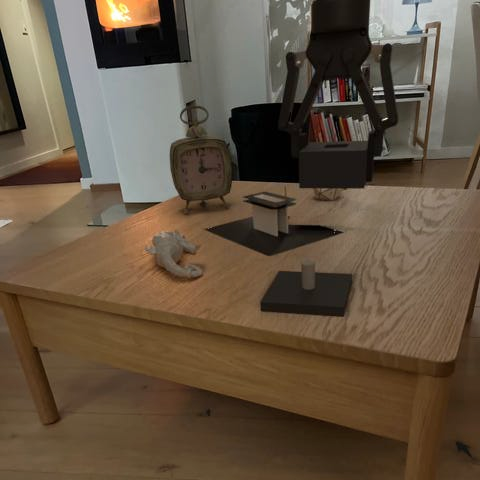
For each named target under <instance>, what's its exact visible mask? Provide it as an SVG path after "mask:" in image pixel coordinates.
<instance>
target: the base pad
mask: <svg viewBox="0 0 480 480" xmlns="http://www.w3.org/2000/svg"><path fill="white" fill-rule="evenodd" d="M300 267H301V271H296V270H295V271H293V270H292V271H291V270H279V271H278V272H277V273H276V275H275V276H274V278H273V279H272V282H271V283H270V285H269V287H268V288H267V290H266V292H265V293H264V294H263V297H262V298H261V300H260V302H259V303H260V312H271V313H285V314H286V313H287V314H299V315H300V314H301V315H315V316H331V317H332V316H333V317H345V313H346V309H347V305H348V302H349V297H350V293H351V289H352V285H353V273H342V272H317V271H316V262H315V260H311V259H307V260H302V261H301V263H300Z"/></svg>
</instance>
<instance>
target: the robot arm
mask: <svg viewBox="0 0 480 480" xmlns="http://www.w3.org/2000/svg"><path fill="white" fill-rule="evenodd" d="M370 16H371V0H313V1H311V2H310V4H309V38H308V44H307V46H306V48H305V49H304V50H299V51H289V52H287V53H286V55H285V64H286V71H287V72H286V78H285V82H284V83H285V84H284V89H283V94H282V100H281V105H280V110H279V111H280V112H279V117H278V122H277V128H278V129H277V130H279V131H283V132H286V133H288V134H289V135H290V149H291V150H290V151H291V153H290V155H291V157H292V159H298V161H297V162H298V165H297V166H298V167H297V168H298V171H297V172H298V177H299V151H301V150H302V149H303V148H304V147H306V146H307V145H308V132H303V128H304V125H305V123H306V121H307V120H308V117H309V115H310V112H311V110H312V108H313V106H314V103H315V102H316V99H317V97H318V94H319V93H320V90H321V88H322V86H323V85H324V83H325V81H326V82H327V81H334V80H336V79H338V80H350V79H351V81H352V83H353V85H354V86H355V88H356V91H357V94H358V96H359V98H360V100H361V103H362V105H363V107H364V110H365V111H366V113H367V116H368V118H369V120H370V124H371V125H372V128H373V130H369V132H368V135H367V141H368V156H367V175H366V183H372V181H373V178H374V166H375V157H381V156H382V153H383V151H384V135H385V131H386V130H387V129H390V128H393V127H396V126H397V125H398V122H399V114H398V113H399V112H398V107H397V99H396V92H395V86H394V85H395V84H394V79H393V72H392V65H391V62H392V59H393V58H392V57H393V51H394V46H393V45H392V44H391V43H389V42H387V43H384V44H383V43H382V44H380V43H372V41H371V38H370ZM370 54H372V55H373V56H374V62H376V63H378V64H379V70H380V78H381V84H382V90H383V98H384V104H385V109H386V116H387V117H386V118H383V117H382V115H381V112H380V110H379V107H378V105H377V103H376V101H375V98H374V96H373V94H372V92H371V90H370V87H369V85H368V82H367V80H366V77H365V75H364V72H363V70H362V66H364V63H365V62H366V60H367V59H368V57H369V56H370ZM306 60H307V61H308V62H309V63H310V65H311V66H312V69H314V73H313V75H312V77H311V79H310V81H309V82H310V83H309V86H308V88H307V90H306V93H305V95H304V97H303V99H302V102H301V104H300V106H299V108H298V111H297V113H296V115H295V118H294V120H293V122H292V120H291V119H292V115H293V110H294V105H295V100H296V99H295V98H296V93H297V89H298V83H299V79H300V71H301V69H302V68H303V67H304V65H305V61H306Z"/></svg>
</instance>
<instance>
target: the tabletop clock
mask: <svg viewBox="0 0 480 480" xmlns="http://www.w3.org/2000/svg"><path fill="white" fill-rule="evenodd" d="M192 109H200V110H202V111H204V112H205V113H206V117H204V119H201V120H199V121H198V119H197V118H196V117H194V118H192V121H186V120H184V119H183V115H184V113H185V112H186V111H188V110H192ZM209 115H210V114H209V111H208V109H207V108H206V107H205V106H202V105H197V104H196V105H188V106H186V107H184V108H182V110H181V111H180V113H179V119H180V121H181V122H182V123H183V124H184V125H189V126H190V127H189V128H188V129H187V131H186V134H185V137H183V138H180V139H176V140H175V141H173V142H171V143H170V147H169V168H170V174H171V178H172V183H173V186H174V189H175V190H176V192H177V194H178V195H179V197H180V199H181V200H183V201H185V202H186V203H185V207H184V208H183V209H182V214H183V215H186V216H187V215H188V214H189V212H190V209H188V208H189V205H190V203H191V202H199V201H201V202H200V204H199V206H200V208H202V209H205V208H206V207H207V202H206V201H209V200H215V199H220V200H221V202H222V203H223V205H222V206H223V208H224V209H225V210H228V209H229V208H230V203H229V202H228V201H227V202H226V201H225V198H224V197H226V196H227V195H229V194H230V193H231V189H232V186H233V165H232V159H231V158H232V157H231V154H230V150H229V149H230V148H229V146H228V144H227V142H226V141H225V140H224V139H222V138H220V137H217V136H215V135H208V133H207V130H206V129H205V128H204V127H203V126H200V125H202V124H203V123H206V121H207V120H208V119H209Z"/></svg>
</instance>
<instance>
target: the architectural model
mask: <svg viewBox="0 0 480 480" xmlns="http://www.w3.org/2000/svg"><path fill="white" fill-rule="evenodd" d="M242 198H243V199H244V200H242V202H243V203H245V204H250V205H251V207H252V208H251V209H252V216H249V217H245V218H240V219H238V220H233V221H230V222H226V223H222V224H218V225H214V226H211V227H212V228H210V227H207V228H205V229H206V230H205V231H207V232H210V233H212V234H215V235H217V236H219V237H222V238H224V239H227V240H229V241H231V242H234V243H235V244H238V245H241V246H243V247H246V248H248V249H251V250H253V251H256V252H258V253H261V254H262V255H265V256H268V257H269V256H273V255H276V254H279V253H282V252H287V251H289V250H293V249H296V248H298V247H302V246H305V245H308V244H311V243H315V242H318V241H321V240H324V239H327V238H331V237H334V236H337V235H340V234H344V233H345V232H344V231H341V230H339V229H335V230H336V231H334V228H331V227H328V226H325V225H321V224H289V220H290V219H291V216H290V215H289V213H288V212H289V211H288V208H289V207H290V208H291V207H293V206H295V205H297V203H296V202H294V201H296V200H297V198H294V197H290V196H287V186H284V195H281V194H277V193H273V192H269V191H261V192H256V193H253V194H248V195H244V196H242ZM208 228H209V229H208ZM334 232H335V233H334Z"/></svg>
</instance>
